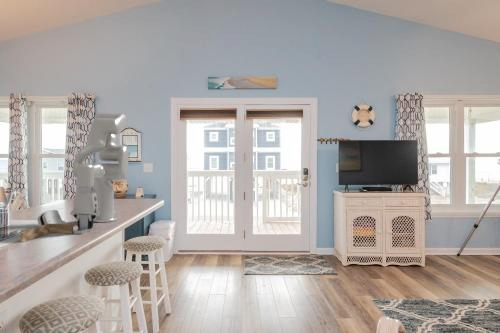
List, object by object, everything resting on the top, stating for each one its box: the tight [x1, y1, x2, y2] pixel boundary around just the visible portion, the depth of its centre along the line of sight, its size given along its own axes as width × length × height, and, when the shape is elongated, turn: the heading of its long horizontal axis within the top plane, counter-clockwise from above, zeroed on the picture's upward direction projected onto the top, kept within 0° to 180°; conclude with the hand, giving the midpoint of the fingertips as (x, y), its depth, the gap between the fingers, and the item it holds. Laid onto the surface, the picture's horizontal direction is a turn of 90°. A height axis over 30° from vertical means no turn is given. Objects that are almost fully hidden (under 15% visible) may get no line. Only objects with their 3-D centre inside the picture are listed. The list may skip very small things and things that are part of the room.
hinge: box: [36, 209, 67, 227], centre depth 164 cm, size 17×5×10 cm, turn 9°
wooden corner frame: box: [20, 223, 74, 243], centre depth 147 cm, size 18×12×4 cm, turn 178°
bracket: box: [73, 214, 92, 235], centre depth 157 cm, size 8×4×8 cm, turn 178°
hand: (85, 228), depth 159 cm, fingers closed on bracket, 4 cm apart
